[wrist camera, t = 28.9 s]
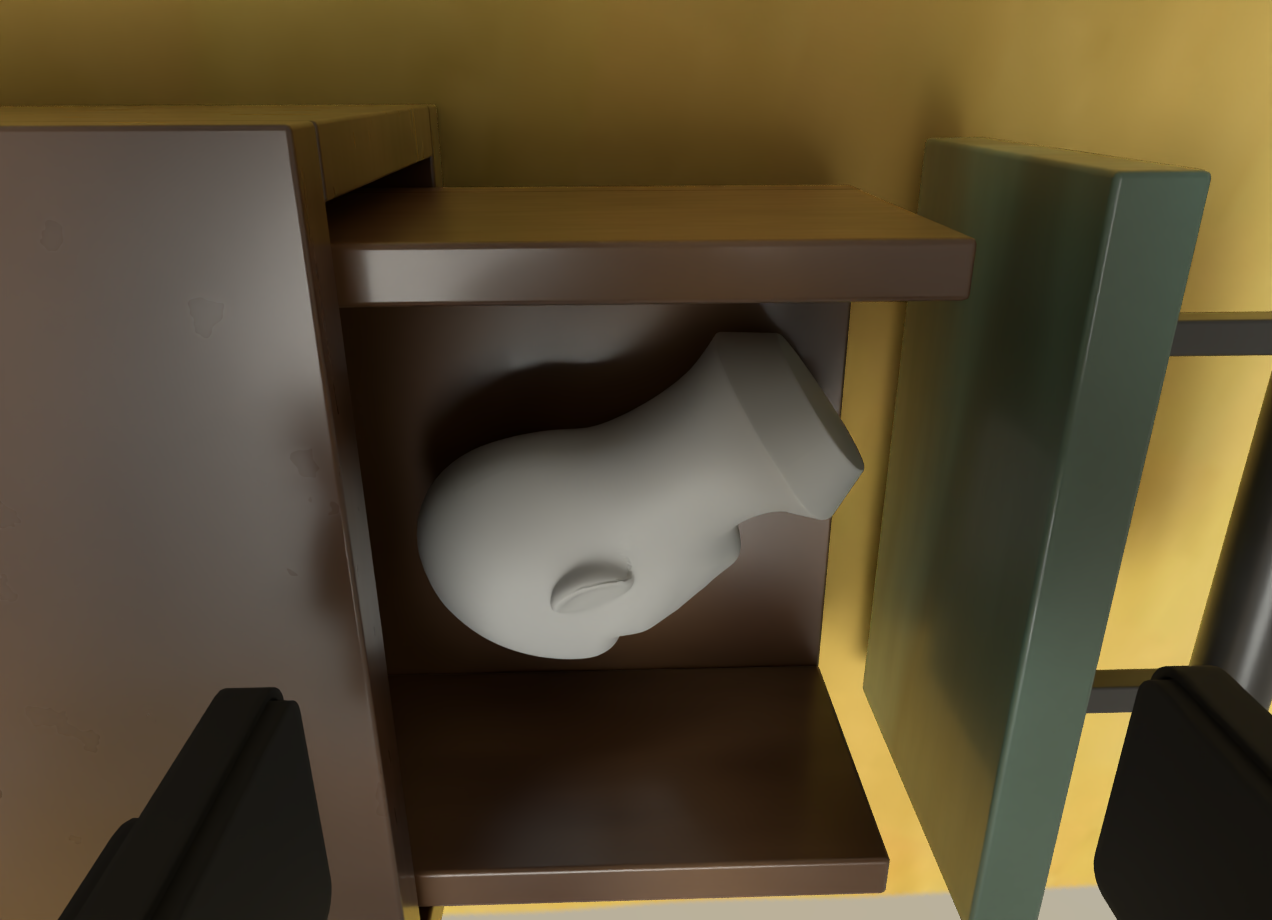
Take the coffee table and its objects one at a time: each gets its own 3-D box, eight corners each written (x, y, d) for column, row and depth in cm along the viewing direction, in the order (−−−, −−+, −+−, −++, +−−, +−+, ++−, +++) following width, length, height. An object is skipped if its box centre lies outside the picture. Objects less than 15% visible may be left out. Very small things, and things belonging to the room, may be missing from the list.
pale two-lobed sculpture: (510, 586, 20) (385, 427, 17) (846, 453, 19) (779, 256, 16) (516, 754, 17) (363, 597, 14) (923, 607, 16) (858, 398, 13)
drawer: (1262, 135, 17) (1652, 167, 11) (1125, 683, 22) (1337, 927, 16) (201, 141, 17) (-50, 178, 10) (302, 702, 21) (174, 964, 15)
